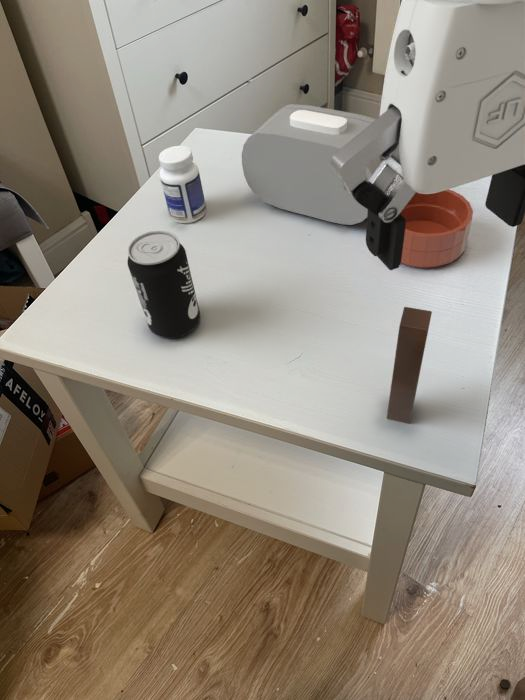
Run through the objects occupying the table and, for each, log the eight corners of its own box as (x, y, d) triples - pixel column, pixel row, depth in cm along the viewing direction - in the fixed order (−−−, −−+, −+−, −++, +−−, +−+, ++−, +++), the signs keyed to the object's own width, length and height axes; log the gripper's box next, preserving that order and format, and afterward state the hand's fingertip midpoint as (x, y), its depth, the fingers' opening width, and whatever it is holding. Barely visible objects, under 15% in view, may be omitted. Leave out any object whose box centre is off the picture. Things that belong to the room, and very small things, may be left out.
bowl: (468, 224, 79) (476, 190, 75) (459, 276, 72) (468, 241, 68) (388, 214, 82) (391, 181, 78) (372, 263, 75) (375, 229, 71)
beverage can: (189, 346, 68) (168, 269, 59) (140, 336, 70) (113, 261, 61) (208, 308, 72) (192, 231, 63) (162, 300, 74) (139, 224, 65)
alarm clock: (397, 201, 84) (406, 113, 74) (371, 237, 79) (378, 147, 69) (276, 172, 92) (271, 89, 82) (246, 203, 87) (236, 119, 77)
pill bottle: (201, 199, 89) (190, 139, 81) (211, 218, 85) (199, 158, 78) (166, 208, 88) (151, 149, 80) (174, 228, 84) (159, 168, 77)
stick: (413, 405, 60) (432, 310, 49) (409, 424, 58) (428, 330, 48) (390, 400, 60) (404, 306, 50) (386, 418, 59) (399, 325, 48)
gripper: (381, 4, 23) (361, 309, 35) (710, -76, 26) (583, 228, 39) (301, -39, 27) (309, 244, 40) (588, -102, 31) (511, 176, 44)
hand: (444, 236), depth 40 cm, fingers open, 9 cm apart
